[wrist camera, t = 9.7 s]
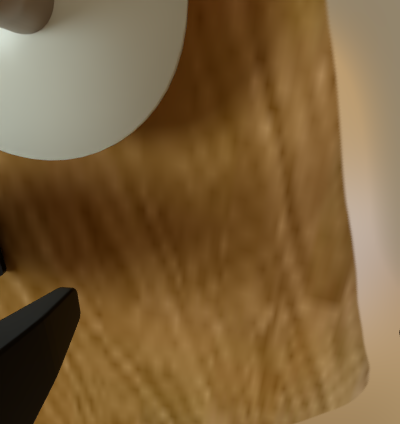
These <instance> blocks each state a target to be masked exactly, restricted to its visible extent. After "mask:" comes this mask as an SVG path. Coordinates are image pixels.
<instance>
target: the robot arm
mask: <svg viewBox="0 0 400 424" xmlns="http://www.w3.org/2000/svg"><path fill="white" fill-rule="evenodd" d="M5 272H6V266H5V262H4V259H3V255H2V252H1V248H0V276H1V275H3V274H4V273H5ZM79 319H80V306H79V300H78V294H77V291H76V289H74V288H67V287H60V288H58V289H56V290H54V291H52V292H50V293H49V294H47V295H45V296H43V297H41V298H40V299H38V300H36V301H34V302H32V303H31V304H29V305H27V306H25V307H24V308H22V309H20V310H18V311H16V312H15V313H13V314H11V315H9V316H7V317H6V318H4V319H2V320H0V424H33V423H34V421H35V419H36V417H37V415H38V413H39V411H40V409H41V407H42V405H43V403H44V401H45V400H46V398H47V396H48V394H49V392H50V390H51V388H52V386H53V384H54V381H55V379H56V377H57V375H58V373H59V370H60V368H61V365H62V363H63V360H64V358H65V355H66V353H67V350H68V348H69V345H70V342H71V340H72V337H73V335H74V332H75V330H76V327H77V324H78V322H79ZM399 333H400V332H399Z"/></svg>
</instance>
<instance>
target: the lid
mask: <svg viewBox="0 0 400 424" xmlns="http://www.w3.org/2000/svg"><path fill="white" fill-rule="evenodd" d="M187 15H188V0H0V150H1V151H4V152H7V153H10V154H13V155H17V156H21V157H26V158H30V159H40V160H68V159H74V158H80V157H84V156H87V155H90V154H94V153H97V152H100V151H102V150H104V149H106V148H108V147H110V146H112V145H114V144H116V143H118V142H120V141H121V140H123V139H124V138H126V137H127V136H129V135H130V134H132V133H133V132H134V131H135V130H136V129H137V128H139V127H140V126H141V125H142V124H143V123H144V122H145V121H146V120H147V119H148V118H149V116H150V115H151V114H152V113H153V111H154V110H155V109H156V108H157V106H158V105H159V103H160V102H161V100H162V98H163V97H164V95H165V93H166V92H167V90H168V88H169V86H170V84H171V81H172V79H173V77H174V74H175V72H176V70H177V66H178V63H179V60H180V56H181V53H182V50H183V45H184V39H185V33H186V28H187Z"/></svg>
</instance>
